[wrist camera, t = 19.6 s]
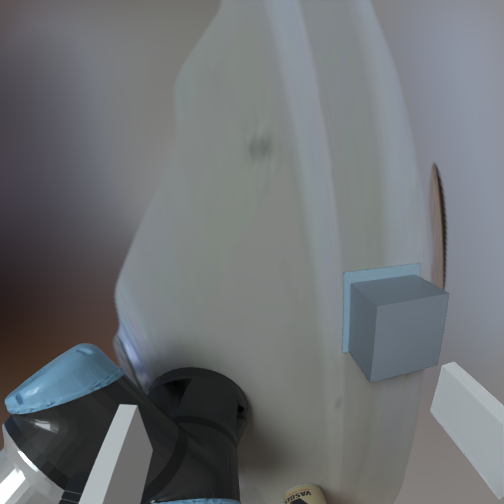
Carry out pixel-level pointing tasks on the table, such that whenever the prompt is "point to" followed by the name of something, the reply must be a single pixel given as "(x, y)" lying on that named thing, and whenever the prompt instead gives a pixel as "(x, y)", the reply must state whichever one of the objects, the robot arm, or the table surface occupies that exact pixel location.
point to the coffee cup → (304, 495)
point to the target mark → (367, 276)
